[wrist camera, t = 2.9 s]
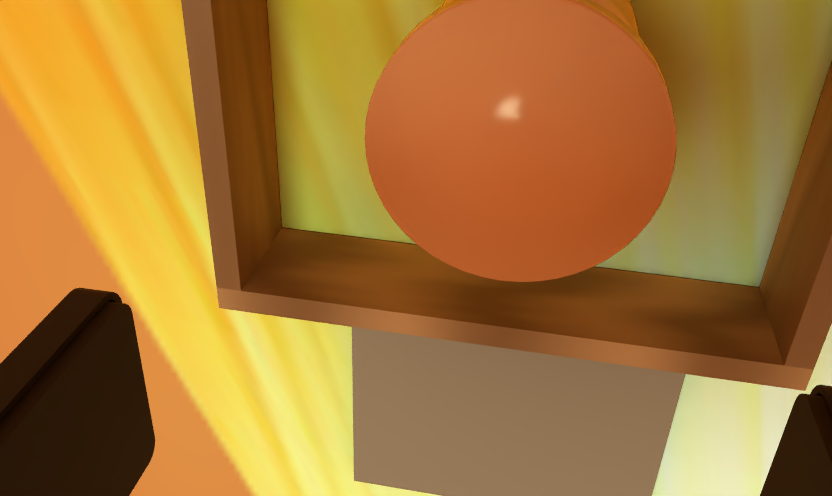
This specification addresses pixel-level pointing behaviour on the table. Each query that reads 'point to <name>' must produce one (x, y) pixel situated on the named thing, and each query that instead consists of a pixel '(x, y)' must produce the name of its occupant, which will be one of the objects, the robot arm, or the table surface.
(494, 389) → the mat
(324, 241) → the frame
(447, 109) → the terracotta pot
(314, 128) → the table surface
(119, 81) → the table surface
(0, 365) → the robot arm
